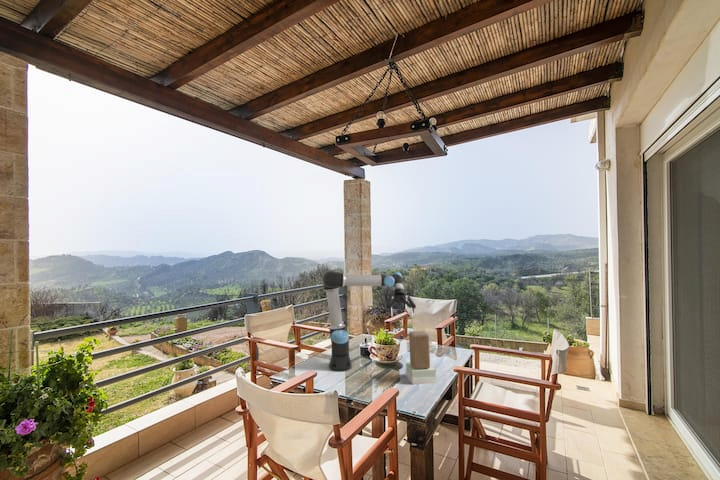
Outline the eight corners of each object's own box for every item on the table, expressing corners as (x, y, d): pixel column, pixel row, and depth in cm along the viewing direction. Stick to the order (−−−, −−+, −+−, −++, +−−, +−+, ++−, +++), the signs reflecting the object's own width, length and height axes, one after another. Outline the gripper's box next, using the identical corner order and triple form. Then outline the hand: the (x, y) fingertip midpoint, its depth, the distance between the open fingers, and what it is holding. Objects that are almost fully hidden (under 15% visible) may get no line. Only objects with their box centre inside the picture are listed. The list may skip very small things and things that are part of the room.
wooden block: (430, 368, 192) (429, 334, 193) (414, 369, 191) (412, 335, 192) (425, 362, 202) (424, 330, 203) (410, 364, 201) (408, 331, 202)
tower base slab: (412, 385, 188) (412, 378, 188) (405, 376, 202) (405, 369, 202) (435, 383, 190) (435, 376, 190) (427, 374, 204) (427, 368, 204)
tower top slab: (412, 378, 189) (412, 371, 189) (406, 369, 203) (406, 362, 203) (435, 376, 190) (435, 369, 191) (427, 368, 204) (427, 361, 204)
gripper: (415, 294, 234) (419, 319, 218) (380, 294, 233) (383, 319, 217) (417, 287, 229) (421, 313, 213) (381, 287, 228) (384, 313, 212)
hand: (402, 316), depth 215 cm, fingers open, 13 cm apart
